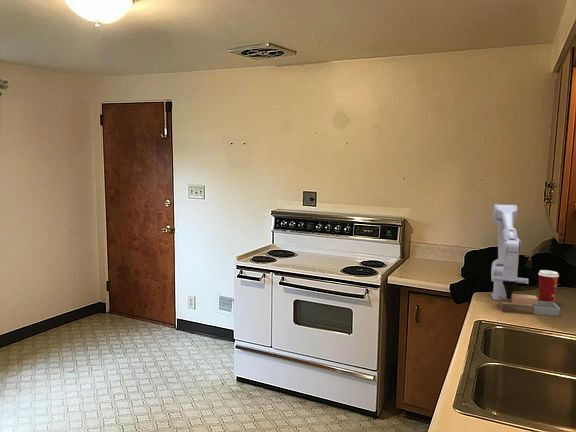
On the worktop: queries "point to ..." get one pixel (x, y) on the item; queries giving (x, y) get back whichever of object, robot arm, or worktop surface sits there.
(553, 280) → the coffee cup
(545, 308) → the tray
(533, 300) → the tile
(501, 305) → the board
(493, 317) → the worktop surface
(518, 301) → the tile
